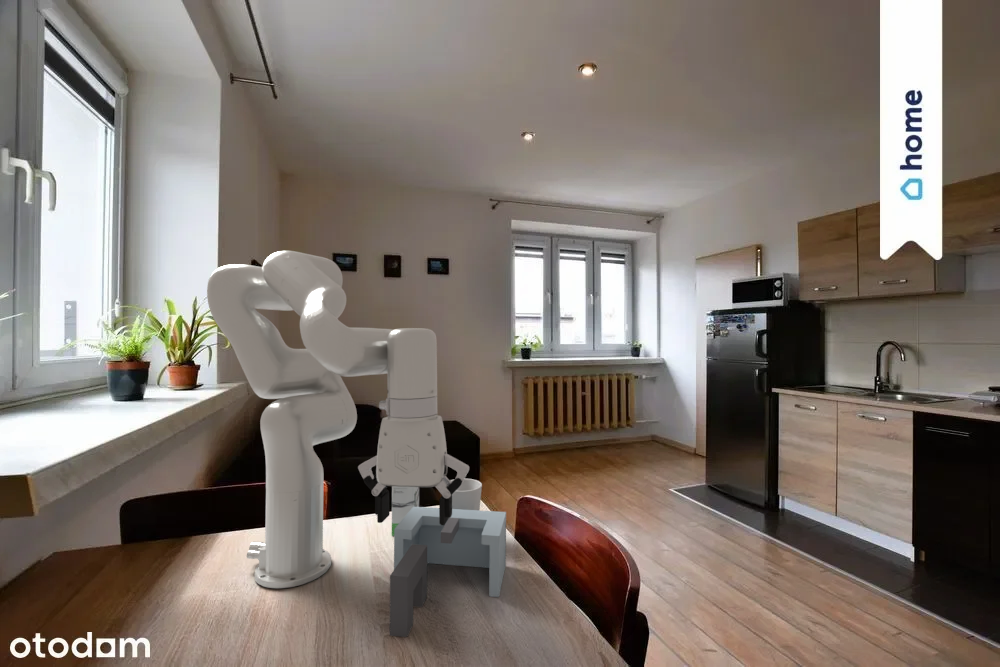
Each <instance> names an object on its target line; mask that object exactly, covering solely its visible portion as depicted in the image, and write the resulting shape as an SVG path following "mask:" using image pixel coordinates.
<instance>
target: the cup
mask: <svg viewBox="0 0 1000 667" xmlns="http://www.w3.org/2000/svg"><path fill="white" fill-rule="evenodd" d="M453 480H454V479H449V481H450V482H451V483H452V481H453ZM482 488H483V483H482V482H481V481H479V480H477V479H472V478H465V479H464V481H463V483H462V484H461V486H460V487H459V488H458V489H457V490H456V491H455V492H454V493H453V494H452V509H463V510H480V511H481V509H480V508H481V500H482Z"/></svg>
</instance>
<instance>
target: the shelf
mask: <svg viewBox="0 0 1000 667" xmlns="http://www.w3.org/2000/svg"><path fill="white" fill-rule="evenodd" d="M393 537H394V538H393V542H394V543H393V570H394V569H395V568H396V566H397V565H398V564H399V562H400V561H401V559H402V558H403V556H404V555H405V553H406V552H407V551H408V549H409V548H410V546H411V545H412V544H417V545H427V564H433V565H448V566H458V567H459V566H461V567H473V568H487V569H489V572H488V573H489V574H488V576H489V577H488V578H489V582H488V583H489V585H488V589H489V590H488V591H489V592H488V593H489V594H488V595H489V597H491V598H492V597H494V598H500V594H501V590H502V584H503V580H504V575H505V571H506V566H507V565H506V564H507V562H506V560H507V558H506V557H507V551H506V550H507V511H494V510H493V511H492V510H481V509H480V510H463V509H452V516H451V517H449V519H448V520H447V522H446V524H445V525H441V524H440V523H439V507H427V506H419V507H413V508H412V509H411V510H410V511H409V512H408V514H407V515H406V516H405V517H404V518H403V519H402V521H401V522H400V523H399V524H398V525H397V527H396V528H395V529H394V536H393Z"/></svg>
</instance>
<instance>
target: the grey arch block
mask: <svg viewBox="0 0 1000 667" xmlns="http://www.w3.org/2000/svg"><path fill="white" fill-rule="evenodd" d="M427 599H428V563H427V545H417V544H412V545H411V546H410V548H409V549H408V551H407V552H406V553H405V555H404V556H403V558H402V559H401V561H400V562H399V564H398V565H397V566H396V568H395V569H394V568H393V570H392V571H391V574H389V632H388V633H389V636H392V637H402V638H408V636H409V634H410V633H411V630H412V628H413V626H414V607H417V608H418V607H419V608H423V606H424V604H425V602H426V600H427Z"/></svg>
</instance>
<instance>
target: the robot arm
mask: <svg viewBox="0 0 1000 667" xmlns="http://www.w3.org/2000/svg"><path fill="white" fill-rule="evenodd" d="M343 280H344V279H343V274H342V271H341V268H340V267H339V265H338V264H337V263H336V262H335V261H333V260H332V259H329V258H326V257H323V256H318V255H313V254H309V253H304V252H300V251H294V250H279V251H276V252H273V253H271V254H270V255H269V256H267V257H266V259H264V261H263V264H262V266H256V265H250V264H240V263H239V264H235V263H234V264H226V265H223V266H220V267H218V268H217V269H214V271H213V272H212V273H211V274H210V277H209V279H208V281H207V288H206V296H207V304H208V308H209V311H210V314H211V316H212V318H213V320H214V322H215V323H216V325H217V326H218V328H219V329H220V330H221V332H222V333H223V334H224V336H225V338H226V339H227V341H228V342H229V344H230V345H231V346H232V349H233V350H234V353H235V355H236V357H237V360H238V362H239V364H240V367H241V369H242V371H243V374H244V375H245V378H246V379H247V381H248V383H249V386H250V387H251V389H252V391H253V392H254V394H255V395H256V396H258V397H259V398H261V399H266V400H275V399H276V400H275V401H272V402H271V403H270V404H268V406H266V407H265V408H264V410H263V411H262V413H261V416H260V421H259V422H260V423H259V424H260V434H261V439H262V444H263V450H264V456H265V457H264V458H265V528H264V530H265V532H264V534H265V535H264V538H265V539H264V541H252V542H251V543H250V545H249V547H248V548H249V549H248V551H247V553H246V559H251V560H255V559H256V560H258V565H257V567H255V569H254V570H255V571H254V580H255V582H256V583H257V584H258V585H260V586H262V587H264V588H269V589H287V588H288V589H289V588H293V587H297V586H301V585H305V584H308V583H310V582H312V581H315V580H317V579H318V578H320V577H321V576H323V575H324V574H325V573H326V572H327V571H329V569H330V568H331V565H332V555H331V553H330V552H329V551H327V550H326V549H323V546H324V545H323V543H324V542H323V541H324V540H323V537H324V531H323V530H324V467H323V464H322V462H321V459H320V458H319V457H318V455H317V453H316V452H315V450H314V446H316V445H319V444H323V443H327V442H331V441H334V440H335V441H336V440H338V439H341V438H344V437H346V436H347V435H349V434H350V433H352V432H353V430H354V429H355V427H356V424H357V420H358V414H357V412H358V411H357V408H356V405H355V401H354V399H353V398H352V394H351V393H350V392H349V390H348V387H347V385H346V384H345V382H344V380H343V378H342V377H344V378H345V377H347V378H349V377H361V376H362V377H363V376H370V375H371V376H372V375H373V376H374V375H376V376H377V375H385V374H387V375H386V376H387V377H386V380H387V386H386V387H387V397H386V399H385V400H380V401H379V403H378V408H379V410H384V411H385V412H386V413H385V414H386V415H387V416H386V417H383V418H382V419H381V422H380V423H381V424H380V428H379V434H378V443H377V452H376V455H375V456H373V457H371V458H370V459H368V460H365V461H363V462H362V463H360V464H359V465H358V466H357V469H358V471H359V474H360V475H361V477H362V479H363V483H364V484H365V485H366V487H368V489H369V490H370V491H371V494H372V496H374V513H375V515H376V516H377V518H376V520H377V523H379V524H380V523H381V524H382V523H383V522H385V521H386V519H387V518H388V517H389V516H390V491H389V490H388V489H387V488H388V487H392V486H396V487H419V488H433V487H435V488H436V489H437V490H438V492H439V493H440V495H441V496H440V498H438V499H439V501H438V504H439V505H438V508H439V523H440V524H441V525H445V524H446V522H447V520H448V519H449V517H451V516H452V494H453V493H454V492H455V491H456V490H457V489H458V488H459V487H460V486H461V484H462V483H463V481H464V479H466V477H467V474H468V473H469V471H470V466H469V464H466V463H465V462H463V461H461V460H459V459H458V458H456V457H454V456H452V455H451V454H448V451H447V449H448V448H447V441H446V440H447V439H446V433H445V428H444V427H445V426H444V421H443V417H442V416H441V415H438V344H437V342H438V341H437V336H436V335H437V334H436V332H434V331H433V330H432V329H430V328H424V327H423V328H421V327H420V328H419V327H417V328H416V327H414V328H413V327H407V328H406V327H405V328H395V329H393V328H376V327H359V326H358V327H349V326H347V325H346V324H344V323H343V322H341V321H340V320H339V318H340V316H341V315H342V314H343V312H344V310H345V308H346V305H347V295H346V292H345V290H344V289H343V283H344V282H343ZM256 309H258V310H270V311H272V310H273V311H282V312H283V311H288V312H289V311H290V312H291V311H294V312H295V313H296V315H298V316H299V317H300V319H299V330H300V338H301V341H302V344H303V346H304V348H292V347H290V346H289V345H288V344H286V343H285V341H284V339H283V337H282V335H281V332H280V331H279V329H278V328H277V327H276V326H275V325H274V323H273V322H272V321H271V320H269V319H268V318H267V317H266V316H264V315H263V314H262V313H260V312H259V311H258V310H256ZM373 467H375V474H374V473H373V471H372V468H373ZM448 467H449V468H451V469H452V470H454V471H456V472H457V473H456V476H455V479H452V480H453V481H452V483H451V482H450V479H449V478H448V477H447V475H448Z"/></svg>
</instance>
